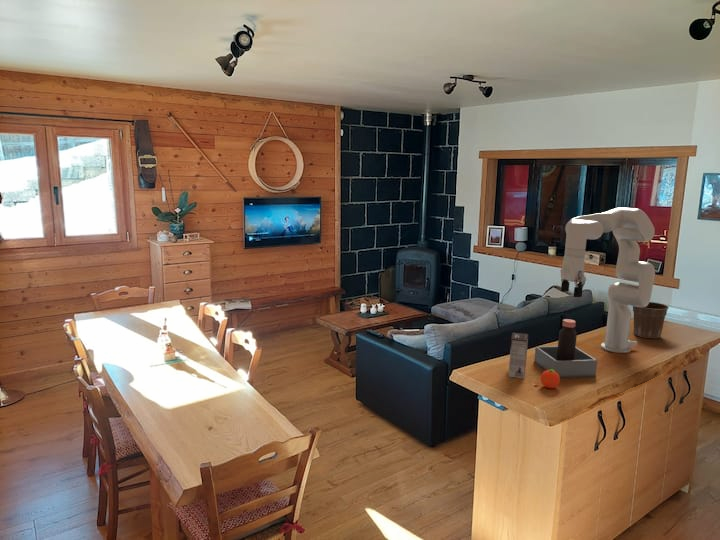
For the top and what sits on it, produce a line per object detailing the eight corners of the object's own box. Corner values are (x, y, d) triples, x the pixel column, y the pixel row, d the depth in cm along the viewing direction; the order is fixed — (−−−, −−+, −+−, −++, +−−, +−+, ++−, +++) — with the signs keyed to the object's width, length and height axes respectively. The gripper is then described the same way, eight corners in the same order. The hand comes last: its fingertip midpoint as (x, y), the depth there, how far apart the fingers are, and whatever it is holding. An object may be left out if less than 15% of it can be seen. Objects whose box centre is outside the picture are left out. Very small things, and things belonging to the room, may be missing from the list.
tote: (572, 360, 224) (573, 345, 223) (595, 376, 207) (597, 360, 206) (534, 362, 222) (535, 346, 220) (554, 378, 205) (556, 361, 203)
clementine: (545, 381, 201) (546, 364, 200) (562, 386, 196) (564, 369, 195) (536, 387, 195) (538, 370, 194) (555, 393, 191) (556, 375, 189)
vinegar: (560, 362, 219) (565, 317, 215) (576, 367, 214) (581, 321, 210) (552, 366, 214) (557, 320, 210) (568, 371, 210) (573, 324, 206)
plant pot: (623, 334, 263) (626, 304, 260) (636, 328, 273) (639, 299, 270) (657, 342, 251) (661, 310, 248) (669, 336, 261) (673, 305, 258)
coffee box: (509, 368, 214) (512, 331, 211) (525, 370, 212) (528, 333, 209) (508, 376, 205) (510, 338, 202) (524, 379, 203) (527, 340, 200)
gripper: (555, 249, 213) (551, 289, 216) (577, 256, 196) (573, 299, 199) (572, 249, 214) (568, 289, 217) (596, 255, 197) (591, 299, 200)
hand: (571, 294), depth 208 cm, fingers open, 9 cm apart
